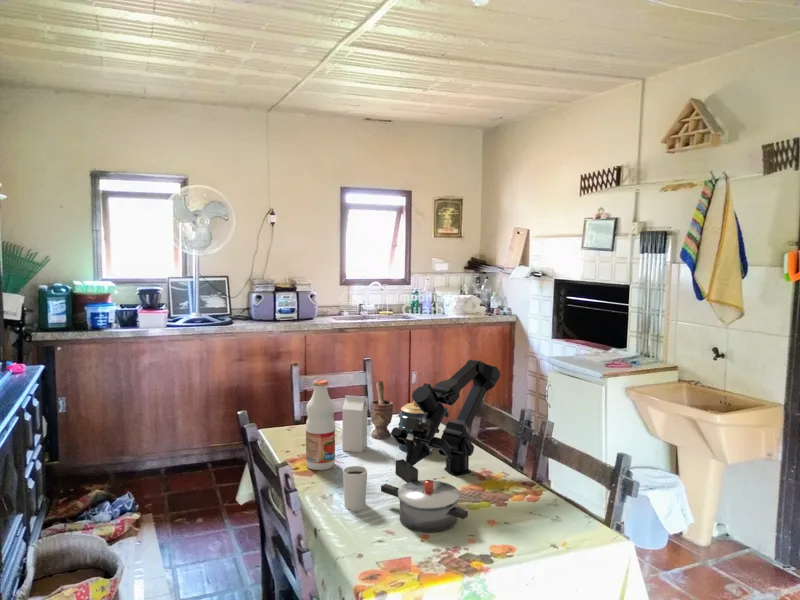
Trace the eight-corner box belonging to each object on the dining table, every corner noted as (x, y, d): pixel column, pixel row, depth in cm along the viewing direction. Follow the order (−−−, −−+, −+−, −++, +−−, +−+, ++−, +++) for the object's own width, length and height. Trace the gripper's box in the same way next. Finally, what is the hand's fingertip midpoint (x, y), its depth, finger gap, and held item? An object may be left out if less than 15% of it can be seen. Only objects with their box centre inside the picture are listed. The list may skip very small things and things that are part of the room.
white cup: (356, 498, 169) (356, 464, 168) (371, 505, 164) (372, 470, 163) (337, 505, 164) (337, 469, 163) (353, 512, 159) (353, 476, 159)
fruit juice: (309, 460, 199) (309, 377, 197) (337, 461, 199) (337, 378, 196) (302, 470, 190) (302, 383, 188) (332, 471, 189) (332, 384, 187)
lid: (423, 470, 174) (423, 455, 174) (471, 502, 152) (471, 486, 152) (373, 479, 167) (373, 464, 167) (416, 514, 145) (416, 497, 144)
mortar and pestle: (362, 432, 230) (363, 381, 229) (382, 429, 234) (383, 379, 233) (375, 440, 220) (376, 387, 219) (396, 437, 224) (397, 385, 223)
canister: (440, 446, 215) (441, 398, 214) (422, 456, 204) (423, 405, 203) (410, 439, 222) (410, 393, 221) (391, 449, 211) (391, 400, 210)
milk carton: (361, 452, 207) (362, 399, 206) (342, 451, 208) (342, 397, 207) (367, 446, 214) (367, 394, 212) (348, 444, 215) (348, 393, 214)
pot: (399, 494, 172) (400, 474, 171) (480, 522, 155) (481, 499, 154) (365, 512, 160) (365, 490, 159) (448, 543, 143) (448, 519, 143)
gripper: (394, 400, 178) (369, 445, 170) (446, 411, 166) (421, 460, 159) (410, 420, 185) (387, 464, 177) (461, 432, 173) (438, 480, 166)
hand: (407, 467), depth 170 cm, fingers closed
